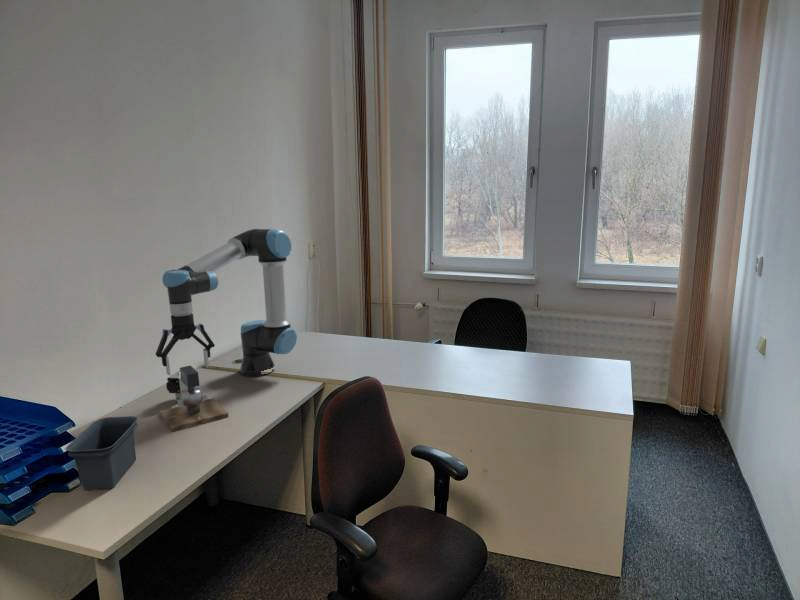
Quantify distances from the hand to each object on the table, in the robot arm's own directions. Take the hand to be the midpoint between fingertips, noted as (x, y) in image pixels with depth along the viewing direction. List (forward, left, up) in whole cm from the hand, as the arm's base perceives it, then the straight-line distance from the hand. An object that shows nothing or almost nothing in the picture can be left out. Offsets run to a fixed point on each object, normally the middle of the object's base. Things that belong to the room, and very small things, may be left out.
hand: (188, 370), depth 204 cm
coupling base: (0, 0, -18) cm, 18 cm away
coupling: (0, 0, -13) cm, 13 cm away
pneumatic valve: (0, -19, -18) cm, 26 cm away
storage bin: (+33, +28, -18) cm, 47 cm away
